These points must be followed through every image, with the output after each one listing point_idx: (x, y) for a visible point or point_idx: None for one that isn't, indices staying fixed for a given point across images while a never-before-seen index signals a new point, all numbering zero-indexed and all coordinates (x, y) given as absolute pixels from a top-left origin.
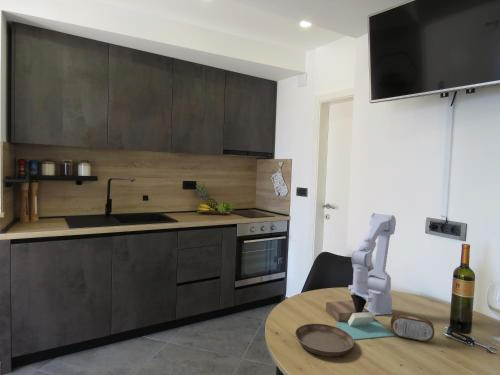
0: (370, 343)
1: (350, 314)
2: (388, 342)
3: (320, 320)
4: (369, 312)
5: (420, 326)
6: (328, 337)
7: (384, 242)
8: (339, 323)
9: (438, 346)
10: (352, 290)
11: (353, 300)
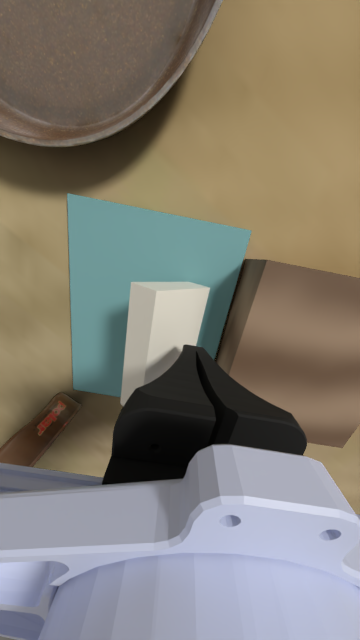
0: (33, 261)
1: (238, 332)
2: (35, 336)
3: (321, 170)
4: None
5: None
6: (110, 34)
7: None
8: (231, 249)
9: (2, 443)
10: (329, 569)
11: (236, 390)
